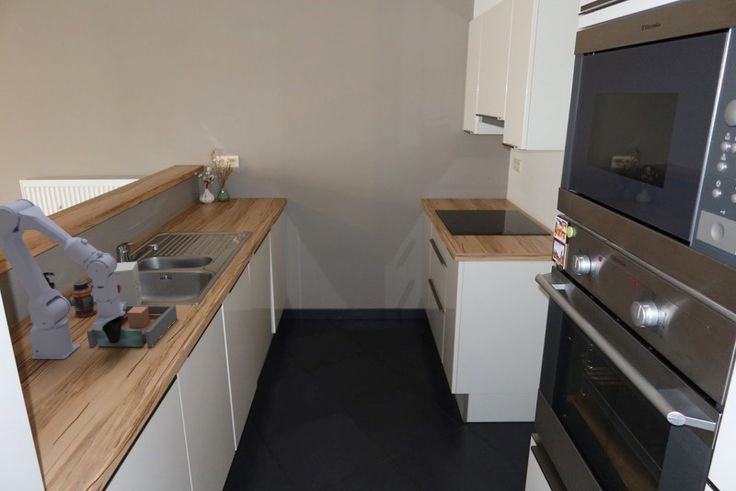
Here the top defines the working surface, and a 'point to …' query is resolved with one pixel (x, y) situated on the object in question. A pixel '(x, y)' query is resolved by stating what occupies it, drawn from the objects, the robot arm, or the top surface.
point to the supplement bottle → (83, 299)
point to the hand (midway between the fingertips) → (114, 342)
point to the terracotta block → (138, 317)
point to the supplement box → (128, 283)
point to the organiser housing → (155, 330)
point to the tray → (128, 334)
